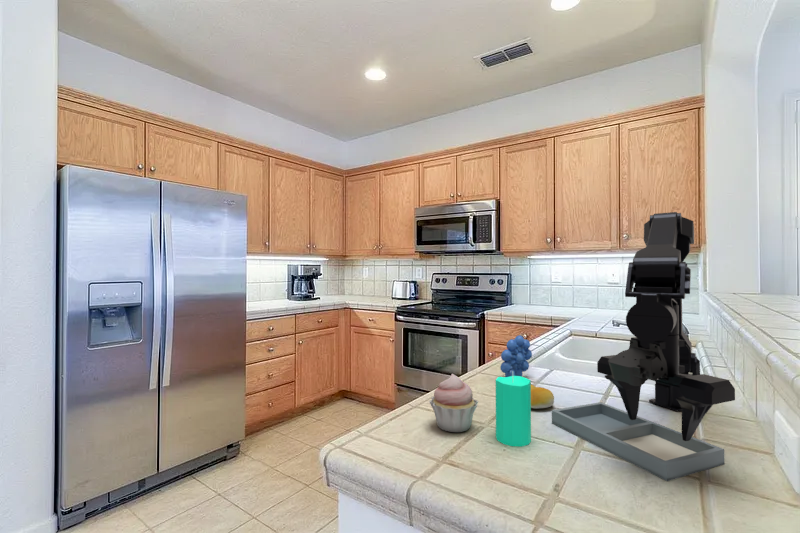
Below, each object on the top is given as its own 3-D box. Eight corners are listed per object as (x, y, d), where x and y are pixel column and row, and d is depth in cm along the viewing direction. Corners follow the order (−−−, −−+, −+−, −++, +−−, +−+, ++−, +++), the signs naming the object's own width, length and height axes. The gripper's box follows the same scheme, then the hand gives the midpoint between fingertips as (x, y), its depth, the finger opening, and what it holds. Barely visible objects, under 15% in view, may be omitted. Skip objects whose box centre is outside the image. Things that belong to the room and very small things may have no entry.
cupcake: (457, 413, 80) (457, 365, 80) (488, 429, 72) (488, 376, 72) (419, 422, 76) (419, 371, 76) (448, 440, 67) (448, 383, 68)
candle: (531, 434, 70) (530, 368, 70) (530, 448, 64) (530, 377, 64) (497, 430, 72) (496, 365, 72) (494, 443, 66) (493, 374, 66)
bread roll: (542, 412, 79) (540, 392, 79) (505, 402, 86) (505, 384, 86) (562, 403, 84) (561, 384, 84) (527, 394, 91) (526, 377, 91)
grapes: (518, 372, 112) (518, 331, 112) (537, 378, 106) (537, 334, 106) (489, 379, 105) (489, 335, 105) (508, 385, 100) (508, 339, 100)
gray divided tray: (600, 414, 80) (600, 402, 80) (724, 465, 59) (724, 449, 59) (551, 423, 75) (551, 410, 75) (667, 482, 54) (667, 464, 54)
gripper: (573, 327, 68) (574, 415, 68) (684, 347, 50) (685, 466, 50) (619, 324, 72) (620, 407, 72) (736, 341, 54) (737, 451, 54)
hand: (657, 429), depth 62 cm, fingers open, 8 cm apart
